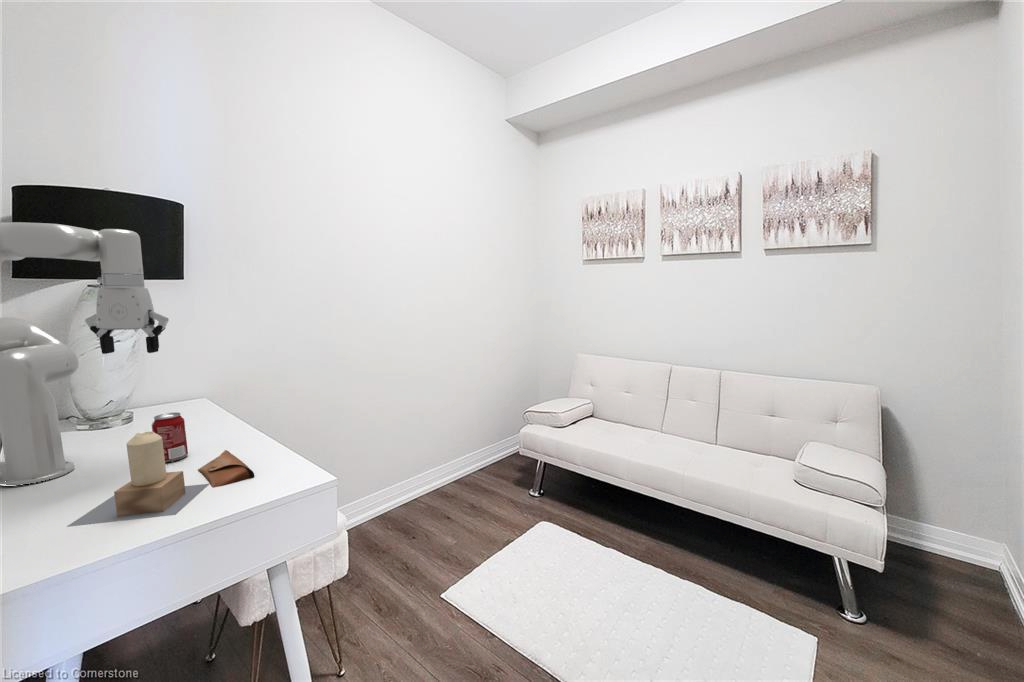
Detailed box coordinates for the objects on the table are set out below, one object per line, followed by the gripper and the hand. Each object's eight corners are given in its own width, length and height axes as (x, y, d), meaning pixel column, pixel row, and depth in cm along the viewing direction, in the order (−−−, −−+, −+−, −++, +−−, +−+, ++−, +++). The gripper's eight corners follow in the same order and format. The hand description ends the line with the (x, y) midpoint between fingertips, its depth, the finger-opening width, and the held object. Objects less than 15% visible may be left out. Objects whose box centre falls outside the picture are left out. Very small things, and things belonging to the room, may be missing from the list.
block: (117, 516, 84) (114, 491, 84) (143, 497, 92) (140, 474, 91) (164, 511, 86) (161, 487, 85) (185, 493, 94) (183, 470, 93)
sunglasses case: (192, 470, 107) (206, 444, 109) (221, 476, 112) (234, 451, 113) (213, 492, 95) (228, 462, 97) (245, 497, 100) (259, 469, 102)
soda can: (190, 458, 115) (185, 414, 114) (158, 466, 110) (152, 420, 109) (185, 452, 120) (180, 410, 118) (154, 459, 115) (148, 415, 113)
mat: (67, 529, 81) (66, 526, 81) (118, 495, 95) (118, 492, 95) (175, 517, 84) (175, 514, 84) (210, 486, 98) (209, 483, 98)
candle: (147, 487, 85) (140, 438, 84) (124, 485, 86) (117, 437, 85) (173, 475, 91) (168, 429, 89) (151, 474, 92) (146, 428, 90)
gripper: (69, 281, 99) (77, 355, 101) (153, 282, 102) (160, 354, 104) (95, 282, 106) (102, 351, 108) (173, 282, 109) (179, 350, 111)
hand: (130, 352), depth 106 cm, fingers open, 9 cm apart
